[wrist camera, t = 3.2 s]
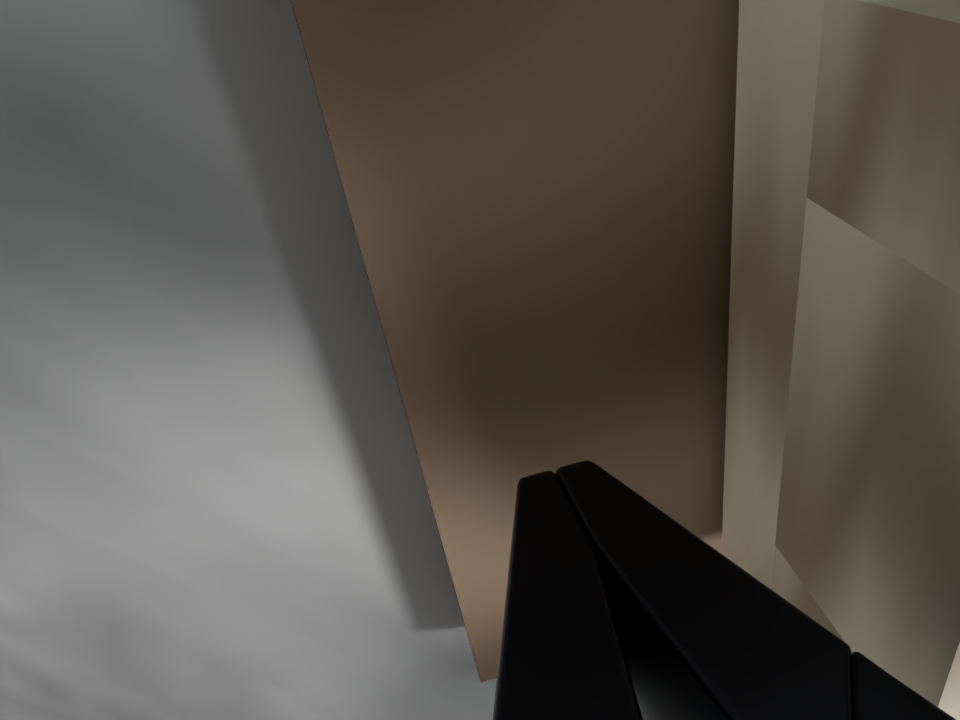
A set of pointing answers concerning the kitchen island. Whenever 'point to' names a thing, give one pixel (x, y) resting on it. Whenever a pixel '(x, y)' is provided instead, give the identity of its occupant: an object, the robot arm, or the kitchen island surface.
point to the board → (541, 247)
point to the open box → (849, 325)
